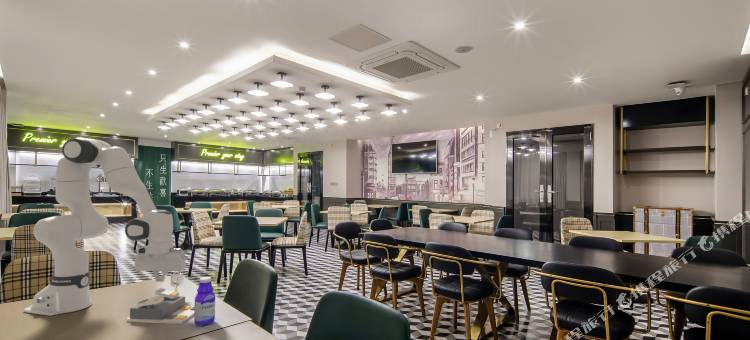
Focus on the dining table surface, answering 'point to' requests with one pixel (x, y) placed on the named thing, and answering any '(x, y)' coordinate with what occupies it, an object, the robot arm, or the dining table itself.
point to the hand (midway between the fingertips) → (160, 281)
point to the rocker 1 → (150, 301)
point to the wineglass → (176, 279)
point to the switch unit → (163, 311)
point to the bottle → (204, 303)
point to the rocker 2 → (166, 293)
